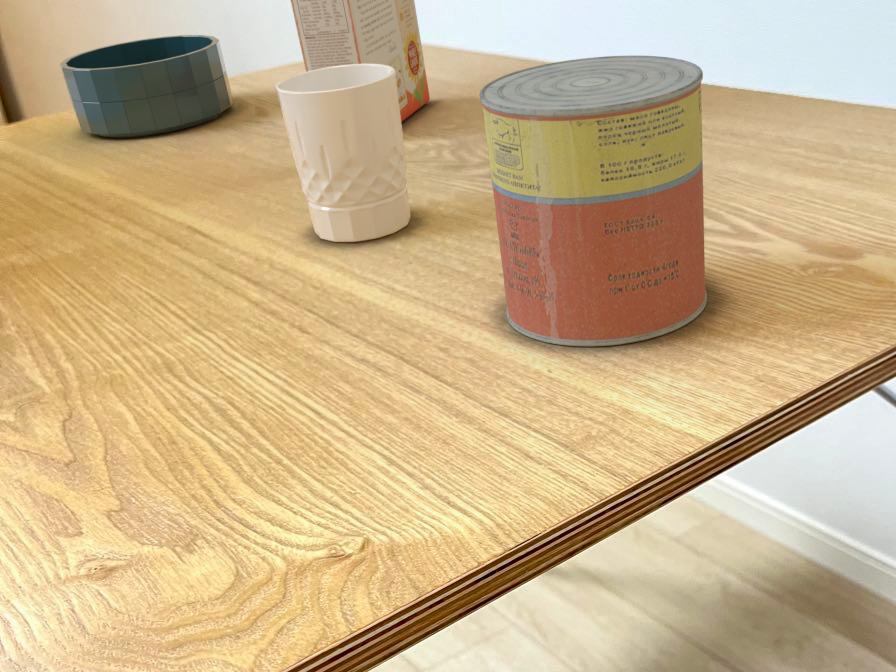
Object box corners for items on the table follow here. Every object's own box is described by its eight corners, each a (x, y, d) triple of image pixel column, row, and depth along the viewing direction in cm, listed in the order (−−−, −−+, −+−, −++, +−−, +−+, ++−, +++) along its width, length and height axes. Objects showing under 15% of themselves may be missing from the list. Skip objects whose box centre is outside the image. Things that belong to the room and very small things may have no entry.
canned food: (694, 259, 69) (689, 46, 62) (719, 335, 59) (716, 95, 53) (508, 277, 69) (483, 68, 63) (504, 355, 60) (474, 120, 53)
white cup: (319, 213, 84) (289, 70, 78) (425, 204, 83) (402, 58, 78) (296, 250, 77) (262, 97, 72) (411, 241, 77) (385, 85, 71)
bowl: (49, 137, 114) (26, 68, 110) (158, 98, 125) (141, 34, 121) (158, 143, 107) (138, 70, 104) (264, 102, 118) (249, 34, 114)
